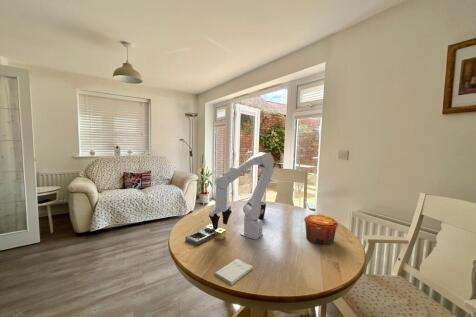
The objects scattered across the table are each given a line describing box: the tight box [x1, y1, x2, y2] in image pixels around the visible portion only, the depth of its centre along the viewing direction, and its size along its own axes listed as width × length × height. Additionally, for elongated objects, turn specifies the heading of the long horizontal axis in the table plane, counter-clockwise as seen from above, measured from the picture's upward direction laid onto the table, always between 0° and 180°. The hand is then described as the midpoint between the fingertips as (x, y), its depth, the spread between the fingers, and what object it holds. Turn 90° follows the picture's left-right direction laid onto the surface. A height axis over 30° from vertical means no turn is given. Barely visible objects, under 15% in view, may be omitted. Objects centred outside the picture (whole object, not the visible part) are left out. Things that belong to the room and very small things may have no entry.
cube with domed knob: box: [204, 224, 216, 233], centre depth 108 cm, size 4×4×4 cm
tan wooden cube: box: [214, 227, 227, 241], centre depth 104 cm, size 4×4×4 cm
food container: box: [303, 214, 339, 246], centre depth 105 cm, size 16×16×11 cm
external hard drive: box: [214, 258, 254, 286], centre depth 77 cm, size 2×8×12 cm
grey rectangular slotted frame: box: [185, 227, 220, 246], centre depth 105 cm, size 8×18×2 cm, turn 145°
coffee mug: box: [258, 200, 267, 221], centre depth 134 cm, size 12×9×10 cm
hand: (220, 226), depth 104 cm, fingers open, 7 cm apart
